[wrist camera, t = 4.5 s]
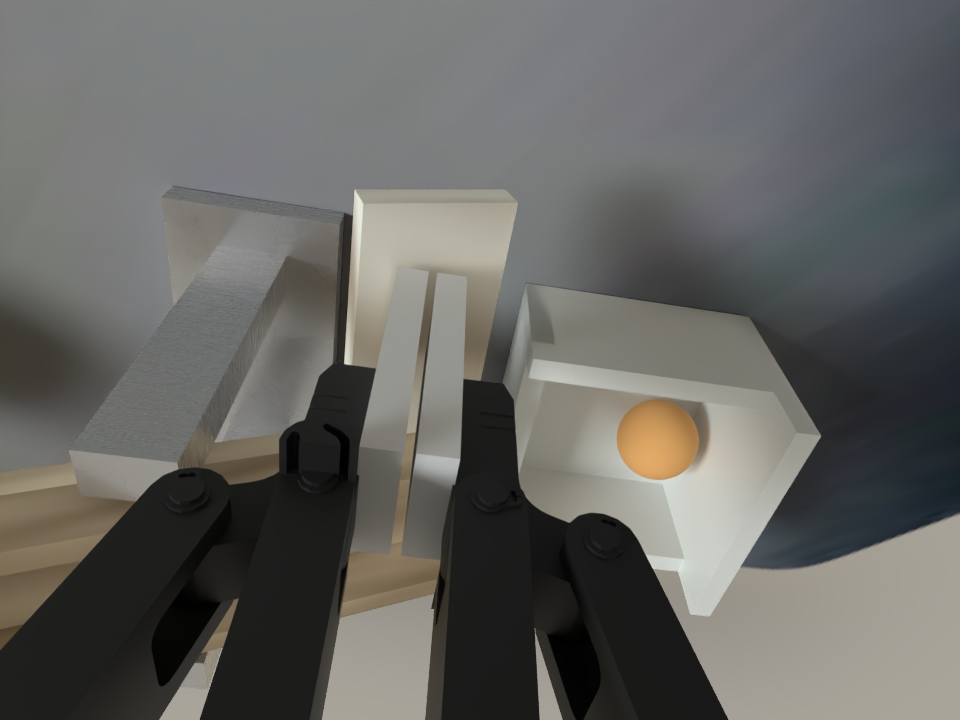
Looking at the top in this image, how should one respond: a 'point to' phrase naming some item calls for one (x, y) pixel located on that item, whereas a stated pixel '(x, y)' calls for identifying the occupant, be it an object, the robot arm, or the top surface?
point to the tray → (642, 377)
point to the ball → (657, 439)
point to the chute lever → (371, 576)
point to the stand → (220, 346)
